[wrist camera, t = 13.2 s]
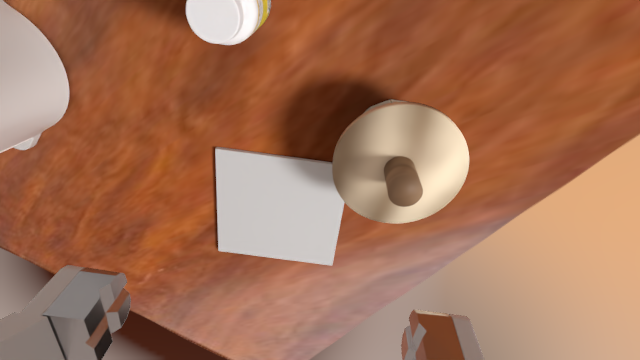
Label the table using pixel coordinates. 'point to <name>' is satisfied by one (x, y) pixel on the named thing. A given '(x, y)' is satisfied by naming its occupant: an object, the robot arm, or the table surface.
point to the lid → (400, 162)
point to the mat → (276, 206)
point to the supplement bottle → (226, 19)
